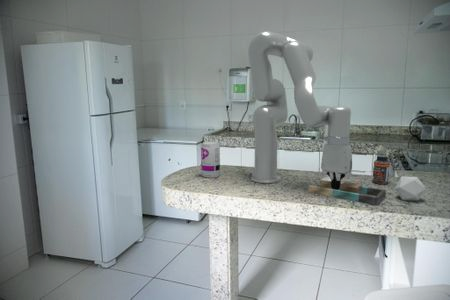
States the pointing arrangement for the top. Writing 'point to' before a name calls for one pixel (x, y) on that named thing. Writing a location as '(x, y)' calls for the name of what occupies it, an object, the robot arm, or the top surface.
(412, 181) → the die
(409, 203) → the top surface
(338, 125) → the robot arm
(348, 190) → the walnut block
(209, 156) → the supplement can
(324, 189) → the tray
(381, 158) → the supplement bottle
